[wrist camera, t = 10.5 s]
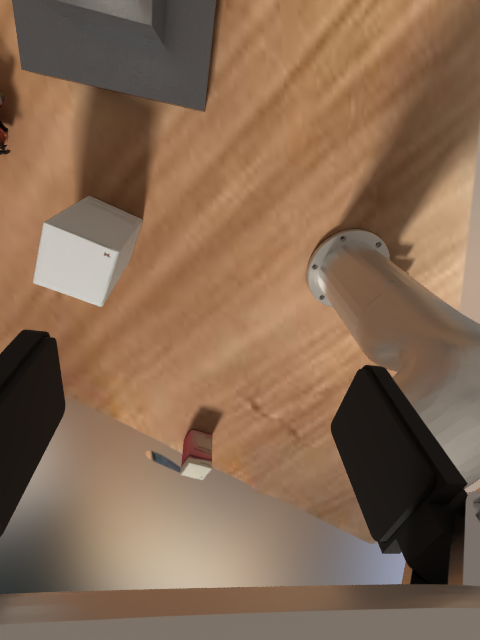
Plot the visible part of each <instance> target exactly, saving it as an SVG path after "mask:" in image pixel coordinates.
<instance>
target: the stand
mask: <svg viewBox="0 0 480 640" xmlns="http://www.w3.org/2000/svg"><path fill="white" fill-rule="evenodd" d="M12 2H13V10H14V17H15V24H16V32H17V39H18V46H19V53H20V61H21V68H22V70H26V71H29V72H33V73H36V74H40V75H45V76H49V77H53V78H58V79H62V80H67V81H71V82H75V83H80V84H84V85H89V86H93V87H97V88H102V89H106V90H111V91H115V92H119V93H124V94H128V95H133V96H137V97H141V98H146V99H150V100H154V101H159V102H163V103H168V104H172V105H176V106H181V107H185V108H190V109H194V110H198V111H203V112H205V105H206V95H207V86H208V77H209V68H210V59H211V49H212V40H213V31H214V22H215V13H216V3H217V0H12Z"/></svg>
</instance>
